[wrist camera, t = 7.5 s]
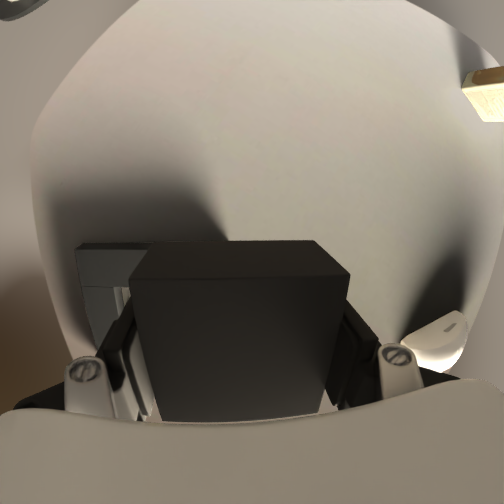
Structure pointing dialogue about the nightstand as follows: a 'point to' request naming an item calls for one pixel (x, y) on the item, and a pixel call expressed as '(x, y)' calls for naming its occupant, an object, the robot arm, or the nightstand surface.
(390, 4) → the nightstand surface
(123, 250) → the frame pad
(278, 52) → the nightstand surface
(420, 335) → the computer mouse
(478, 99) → the cosmetic box
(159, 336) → the dark grey square block
